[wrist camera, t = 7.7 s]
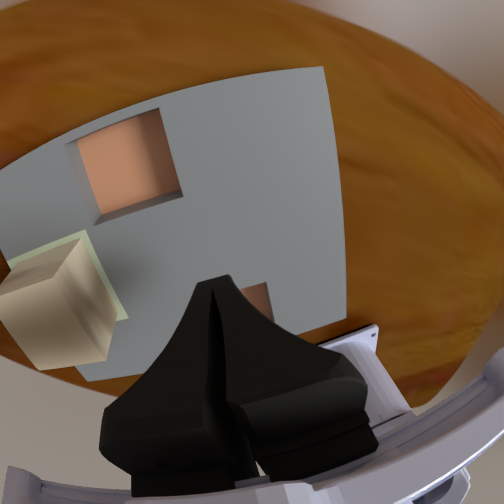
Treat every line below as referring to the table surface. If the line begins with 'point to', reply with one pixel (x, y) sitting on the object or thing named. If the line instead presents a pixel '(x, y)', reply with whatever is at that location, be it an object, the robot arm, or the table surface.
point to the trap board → (193, 206)
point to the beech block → (58, 308)
